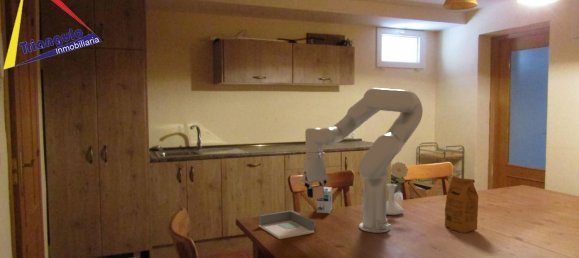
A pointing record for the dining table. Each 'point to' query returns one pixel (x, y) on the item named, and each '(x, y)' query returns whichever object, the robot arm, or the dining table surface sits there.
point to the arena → (286, 224)
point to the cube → (317, 192)
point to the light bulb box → (325, 201)
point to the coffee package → (461, 205)
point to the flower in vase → (399, 172)
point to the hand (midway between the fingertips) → (315, 196)
